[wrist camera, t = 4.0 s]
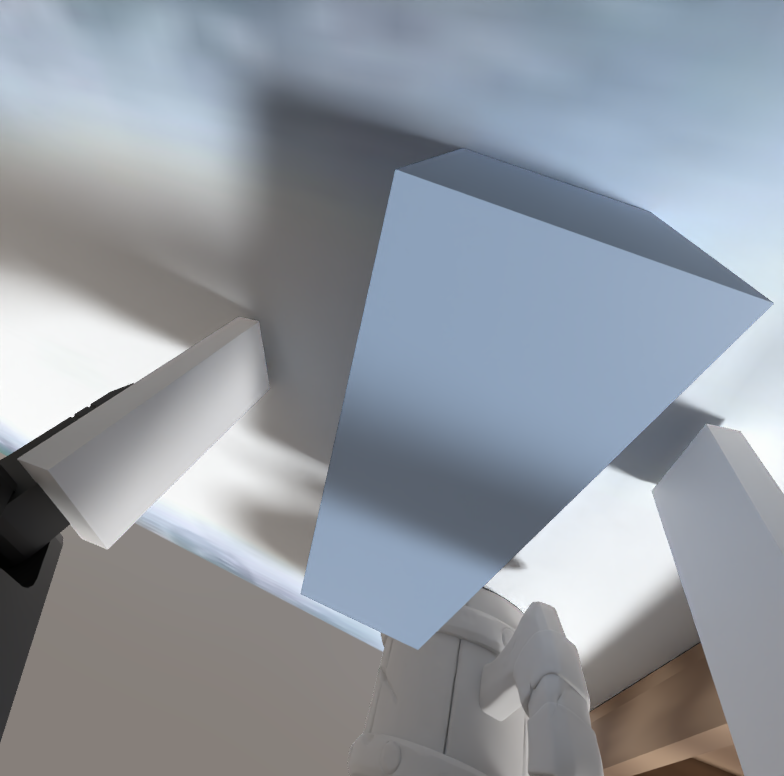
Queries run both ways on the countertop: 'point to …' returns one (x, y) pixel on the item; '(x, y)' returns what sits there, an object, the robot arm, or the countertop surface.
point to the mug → (481, 700)
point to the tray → (667, 724)
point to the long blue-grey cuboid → (500, 378)
